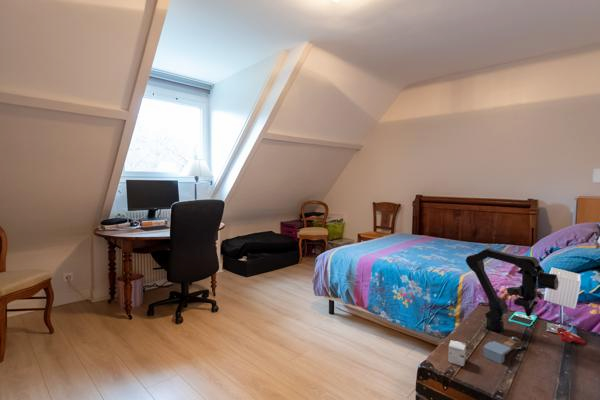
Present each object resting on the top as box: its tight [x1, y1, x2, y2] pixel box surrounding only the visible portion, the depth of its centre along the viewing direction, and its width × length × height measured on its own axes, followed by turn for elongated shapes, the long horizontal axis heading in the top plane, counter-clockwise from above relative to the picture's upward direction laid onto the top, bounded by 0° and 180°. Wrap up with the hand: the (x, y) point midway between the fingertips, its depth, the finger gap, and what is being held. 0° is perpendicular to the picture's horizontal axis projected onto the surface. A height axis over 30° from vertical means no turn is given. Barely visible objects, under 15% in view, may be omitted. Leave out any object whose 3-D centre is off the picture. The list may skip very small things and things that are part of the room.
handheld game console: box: [508, 311, 538, 327], centre depth 170 cm, size 10×16×1 cm, turn 133°
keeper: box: [483, 340, 512, 365], centre depth 136 cm, size 8×9×4 cm
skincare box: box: [447, 339, 467, 367], centre depth 133 cm, size 6×6×7 cm
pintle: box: [511, 336, 523, 350], centre depth 144 cm, size 7×7×4 cm
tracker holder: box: [556, 326, 586, 345], centre depth 149 cm, size 12×4×10 cm
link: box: [502, 336, 521, 356], centre depth 141 cm, size 18×4×2 cm, turn 124°
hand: (528, 316), depth 148 cm, fingers closed
